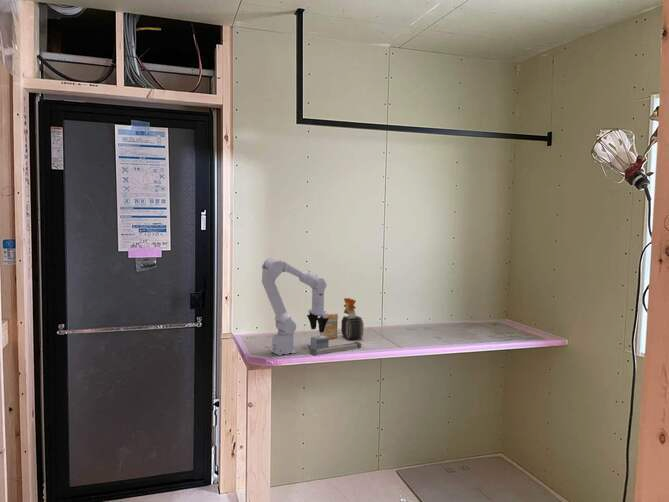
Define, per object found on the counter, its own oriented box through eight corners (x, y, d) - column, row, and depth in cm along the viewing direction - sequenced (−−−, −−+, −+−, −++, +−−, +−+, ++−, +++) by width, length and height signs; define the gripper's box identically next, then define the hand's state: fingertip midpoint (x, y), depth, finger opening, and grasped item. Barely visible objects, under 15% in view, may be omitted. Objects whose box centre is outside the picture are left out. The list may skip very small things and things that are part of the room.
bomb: (349, 340, 244) (350, 302, 243) (339, 335, 257) (340, 298, 256) (363, 339, 247) (363, 301, 246) (352, 334, 260) (353, 298, 259)
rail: (314, 355, 215) (314, 350, 215) (310, 353, 219) (310, 348, 219) (361, 348, 230) (361, 343, 230) (356, 346, 233) (356, 341, 233)
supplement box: (324, 339, 246) (325, 314, 245) (319, 338, 250) (320, 313, 249) (337, 338, 251) (338, 313, 250) (332, 336, 254) (332, 312, 254)
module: (316, 351, 224) (316, 339, 224) (310, 348, 228) (310, 336, 228) (328, 349, 228) (328, 337, 227) (322, 346, 232) (323, 335, 232)
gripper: (333, 304, 224) (332, 332, 225) (317, 299, 236) (316, 327, 237) (320, 305, 220) (319, 334, 221) (304, 300, 232) (304, 328, 233)
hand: (317, 330), depth 229 cm, fingers open, 7 cm apart
